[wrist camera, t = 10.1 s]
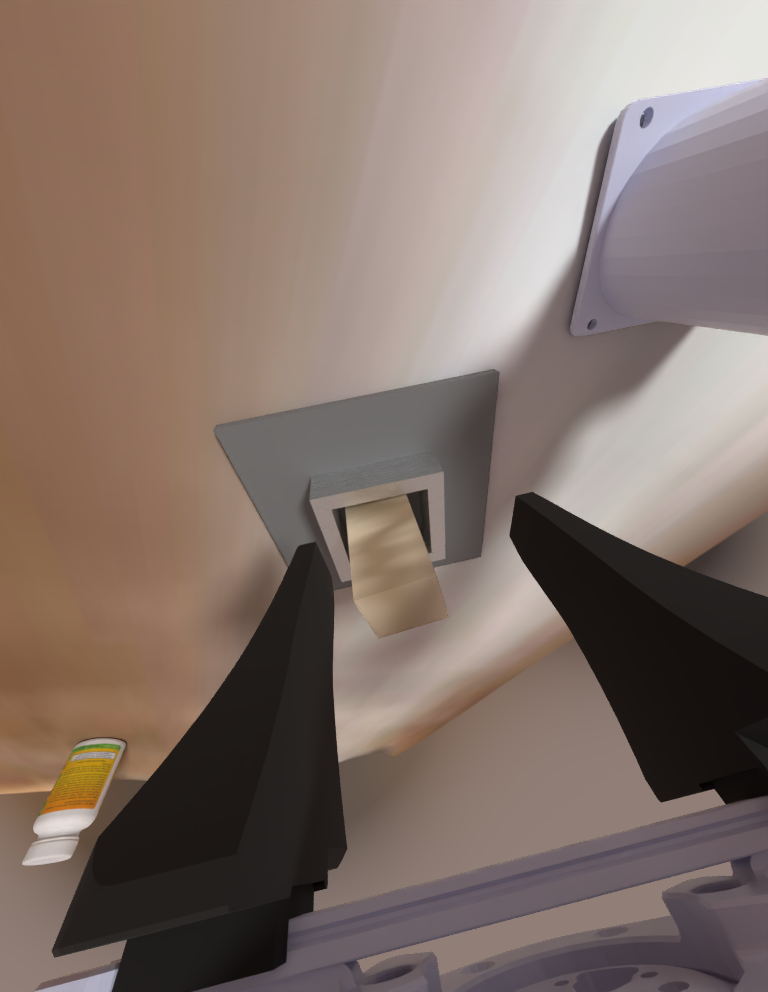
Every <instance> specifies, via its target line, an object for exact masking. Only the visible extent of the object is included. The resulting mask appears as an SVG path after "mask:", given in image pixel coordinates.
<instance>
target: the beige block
mask: <svg viewBox="0 0 768 992" xmlns="http://www.w3.org/2000/svg"><path fill="white" fill-rule="evenodd" d="M345 511H346V522H347V533H348V545H349V556H350V568H351V579H352V591H353V601H354V603H355V604H356V606H357V607H358V609H359V610H360V612H361V613H362V615H363V616H364V618H365V619H366V621H367V622H368V624H369V625H370V627H371V628H372V630H373V631H374V633H375V634H376V636H377V637H378V639H379V638H383V637H386V636H389V635H392V634H396V633H399V632H402V631H405V630H408V629H412V628H415V627H418V626H421V625H425V624H428V623H431V622H434V621H437V620H441V619H444V618H447V617H448V613H447V610H446V606H445V603H444V600H443V596H442V593H441V589H440V586H439V582H438V579H437V576H436V573H435V570H434V567H433V565H432V562H431V559H430V557H429V554H428V551H427V549H426V546H425V543H424V541H423V538H422V535H421V532H420V530H419V527H418V524H417V522H416V519H415V516H414V514H413V511H412V508H411V506H410V503H409V500H408V498H407V495H406V494H402V495H397V496H393V497H388V498H384V499H379V500H374V501H370V502H365V503H360V504H356V505H351V506H347V507H345Z"/></svg>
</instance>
